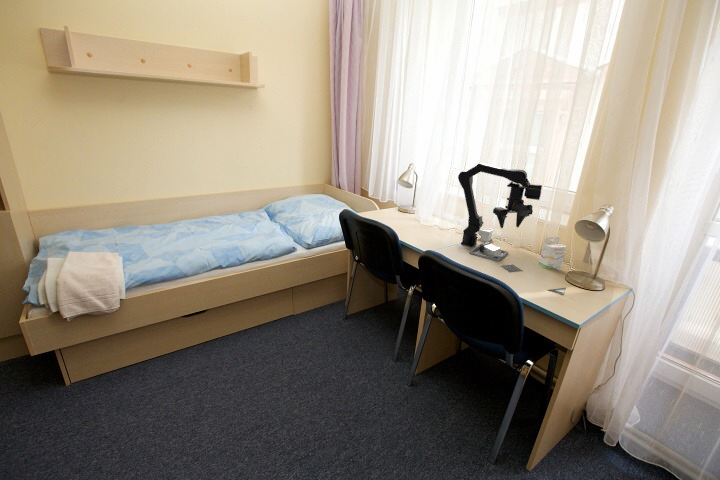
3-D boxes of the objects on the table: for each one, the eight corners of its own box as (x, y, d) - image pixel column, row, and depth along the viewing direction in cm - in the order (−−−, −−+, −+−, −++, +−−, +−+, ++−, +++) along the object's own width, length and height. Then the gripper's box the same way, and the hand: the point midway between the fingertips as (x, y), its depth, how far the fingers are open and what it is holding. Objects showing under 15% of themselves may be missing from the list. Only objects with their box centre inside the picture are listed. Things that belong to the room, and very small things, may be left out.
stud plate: (498, 268, 151) (499, 265, 151) (512, 267, 153) (512, 264, 153) (509, 275, 145) (509, 272, 145) (522, 274, 147) (523, 271, 146)
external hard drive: (539, 289, 136) (546, 279, 145) (562, 296, 131) (568, 285, 140) (540, 285, 135) (547, 275, 144) (563, 292, 130) (569, 281, 139)
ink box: (545, 271, 150) (553, 241, 145) (537, 267, 155) (544, 237, 149) (561, 270, 152) (569, 239, 147) (552, 265, 157) (560, 236, 152)
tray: (468, 256, 164) (469, 251, 163) (479, 248, 174) (480, 244, 173) (497, 264, 156) (498, 259, 155) (507, 256, 166) (508, 251, 165)
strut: (479, 244, 165) (492, 250, 156) (488, 241, 166) (501, 247, 157) (480, 253, 167) (493, 259, 158) (488, 250, 168) (501, 256, 159)
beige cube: (491, 239, 188) (493, 229, 186) (487, 242, 184) (489, 231, 182) (480, 236, 192) (482, 226, 190) (476, 239, 187) (478, 229, 185)
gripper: (510, 201, 151) (504, 234, 157) (544, 200, 156) (537, 232, 162) (495, 195, 161) (489, 226, 167) (527, 194, 166) (520, 224, 172)
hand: (509, 227), depth 167 cm, fingers open, 9 cm apart
